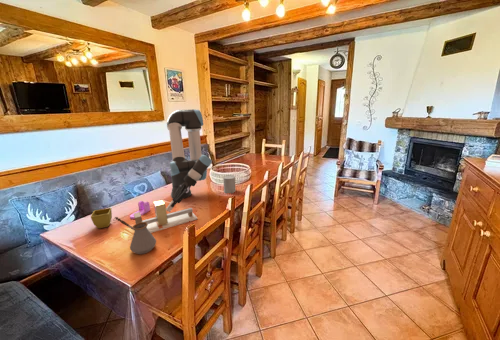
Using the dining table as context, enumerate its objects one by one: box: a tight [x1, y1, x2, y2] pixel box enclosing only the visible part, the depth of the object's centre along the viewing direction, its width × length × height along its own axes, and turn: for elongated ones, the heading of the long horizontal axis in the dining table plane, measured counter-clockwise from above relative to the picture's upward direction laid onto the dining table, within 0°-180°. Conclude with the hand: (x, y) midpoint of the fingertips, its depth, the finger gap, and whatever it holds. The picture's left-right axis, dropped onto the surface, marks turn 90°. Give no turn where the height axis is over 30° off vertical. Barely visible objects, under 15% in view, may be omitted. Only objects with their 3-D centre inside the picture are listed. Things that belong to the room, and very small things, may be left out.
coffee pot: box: [113, 216, 157, 255], centre depth 105 cm, size 21×12×15 cm, turn 71°
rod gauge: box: [133, 207, 198, 234], centre depth 127 cm, size 11×33×10 cm, turn 123°
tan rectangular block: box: [153, 199, 168, 226], centre depth 125 cm, size 7×5×12 cm
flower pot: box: [90, 207, 113, 229], centre depth 126 cm, size 9×9×9 cm
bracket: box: [129, 200, 151, 220], centre depth 140 cm, size 13×6×7 cm, turn 163°
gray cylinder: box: [222, 174, 237, 194], centre depth 174 cm, size 10×10×12 cm
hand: (167, 210), depth 126 cm, fingers closed
